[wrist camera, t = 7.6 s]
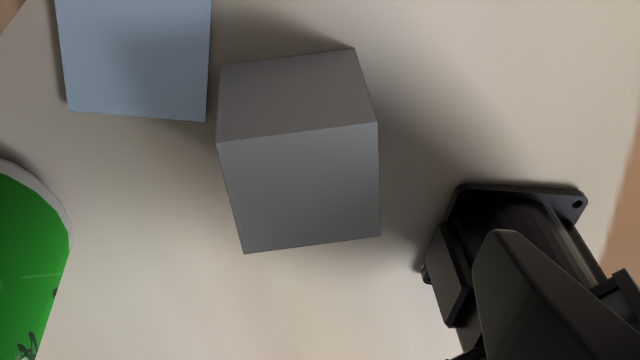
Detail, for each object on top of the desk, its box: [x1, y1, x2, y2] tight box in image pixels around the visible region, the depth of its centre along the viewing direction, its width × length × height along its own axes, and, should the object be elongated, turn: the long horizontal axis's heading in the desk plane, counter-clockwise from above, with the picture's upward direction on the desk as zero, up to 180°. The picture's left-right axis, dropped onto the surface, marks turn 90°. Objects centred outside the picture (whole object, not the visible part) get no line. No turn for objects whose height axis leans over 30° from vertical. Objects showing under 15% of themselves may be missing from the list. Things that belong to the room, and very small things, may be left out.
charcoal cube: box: [215, 48, 381, 254], centre depth 21 cm, size 5×5×5 cm
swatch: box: [54, 0, 212, 122], centre depth 20 cm, size 5×5×1 cm
